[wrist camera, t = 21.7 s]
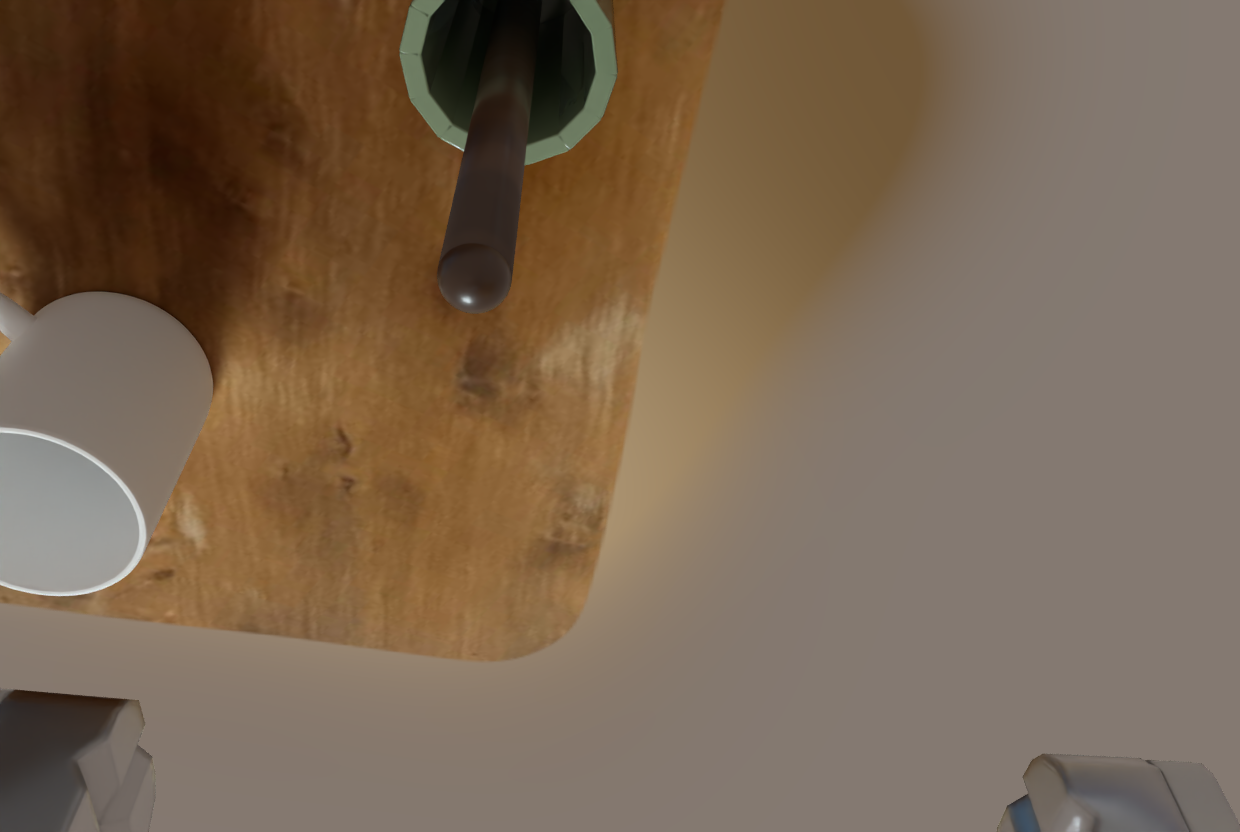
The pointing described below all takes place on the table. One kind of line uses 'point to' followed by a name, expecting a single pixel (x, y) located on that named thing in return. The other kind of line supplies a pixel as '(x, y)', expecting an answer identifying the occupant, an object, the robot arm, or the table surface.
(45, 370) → the cup
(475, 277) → the dark wooden dowel
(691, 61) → the table surface
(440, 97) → the crock
